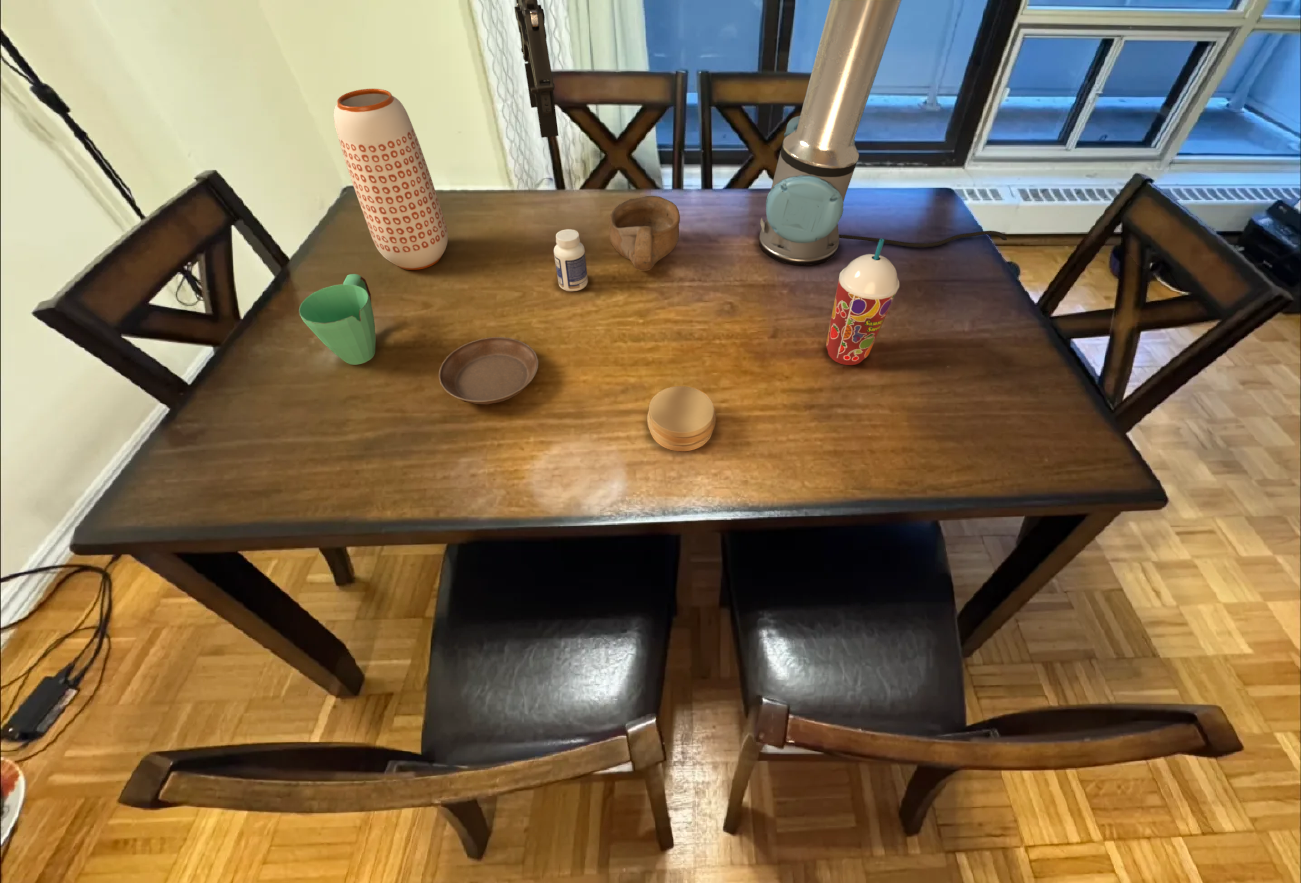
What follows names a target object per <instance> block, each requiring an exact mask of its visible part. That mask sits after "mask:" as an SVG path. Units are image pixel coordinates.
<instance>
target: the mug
mask: <svg viewBox="0 0 1301 883" xmlns="http://www.w3.org/2000/svg"><path fill="white" fill-rule="evenodd" d="M298 313H299V316H300V318H301V321H303V323H304V324H305V325H306V327H308V328H309V329H310V331H311V332H312V333H313V335H315V336H316V337H317V339H319V341H320V342H321V343H322V344H323V345H324V346H326V347H327V348H328V349H329V350H330V351H331V352H332V353H333V354H334V355H336V357H338V358H339V359H340V360H342V361H344V363H346V364H347V365H350V366H351V365H352V366H353V365H354V366H356V365H362V364H365V363H367V362H368V361H370V360H372V359H373V358H374V356H375V354H376V344H377V343H376V338H377V336H376V324H375V316H374V310H373V305H372V294H371V292H370V289H369V286H368V283H367V280H366V279H365V278H364V277H362V276H361V275H359V274H357V273H349V274H348V275H346V277H345V279H344V280H343V283H341V284H333V285H330V286H327V287H322V288H320V289H319V290H316V291H314V292H312V293H311V294H309V295H308V296H307V297H306V298H304V299H303V301H302V302H301V303H300V305H299V309H298Z"/></svg>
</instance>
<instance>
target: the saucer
mask: <svg viewBox="0 0 1301 883" xmlns="http://www.w3.org/2000/svg"><path fill="white" fill-rule="evenodd" d="M538 370H539V358H538V355H537V353H536V351H535V350H534V349H533V348H532V347H531V346H530V345H529V344H527V343H525V342H523V341H522V340H519V339H515V338H512V337H504V336H493V337H491V336H490V337H484V338H480V339H476V340H472V341H470V342H467V343H464V344H463V345H461V346H459V347H457V348H456V349H454V350H453V351H451V352H450V353H449V354H448V355H447V356H446V357H445V358H444V360H443V362H442V363H441V365H440V367H439V370H438V380H439V383H440V386H441V387H442V389H443V390H444V391H445V392H446V393H447V394H449V395H450V396H452V397H454V398H455V399H458V400H461V401H462V402H466V403H470V404H476V405H490V404H496V403H501V402H504V401H507V400H509V399H511V398H513V397H515V396H517V395H518V394H520V393H521V392H522V391H524V390H525V389H526V388H527V386H529V384H531V382H532V380H534V377H535V376H536V374H537V372H538Z"/></svg>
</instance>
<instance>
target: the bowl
mask: <svg viewBox="0 0 1301 883" xmlns="http://www.w3.org/2000/svg"><path fill="white" fill-rule="evenodd" d="M680 221H681V214H680V210H679V208H678V206H677V205H676V204H675V203H674V202H673V201H671V200H668V199H666V198H665V197H662V196H658V195H645V196H641V197H636V198H629V199H627V200H625V201H624V202H621V203H619V204H618V205H616V206H615V207H614V209H613V210H612V211H611V213H610V215H609V232H608V236H609V241H610V242H609V243H610V244H611V245H612V247H613V248H614V250H615V251H616V252H617V253H618V254H619V255H620V256H621V257H623V258H625V259H627V260H629V261H631V263H632V266H633V267H634V268H635V270H638V271H649V270H651V269H653V267H654V266H655V264H656V263H657V262H658V261H661V260H662V259H663V258H665V257H667V256H668V255H669V254H670V253H671V252H672V251H674V249H675V248H676V246H677V244H678V242H679V238H680V223H681V222H680Z"/></svg>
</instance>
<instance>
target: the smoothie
mask: <svg viewBox="0 0 1301 883" xmlns="http://www.w3.org/2000/svg"><path fill="white" fill-rule="evenodd" d="M879 239H880V240H879V242H877V246H876V250H875V253H866V254H863V255H860V256H858V257H856V258H854V259H853V260H851V261H850V262H849V263H848V264H847V266H846V267H844V268H843V269H842V270H841V271H840V273H839V274H838V276H839V278H838V280H837V285H836V286H837V287H836V290H835V291H836V292H835V297H834V302H833V307H832V311H831V312H832V313H831V317H830V321H829V327H828V332H827V337H826V342H825V343H826V344H825V347H826V350H827V354H828V356H829V357H830V359H831V360H833V361H834V362H836V363H838V364H841V365H846V366H854V365H858V364H860V363H861V362H863V361H864V360H865V359H866V358H867V357H868V356H869V355H870V353H871V351H872V349H873V346H874V344H875V341H876V339H877V337H878V335H879V332H880V330H881V328H882V326H883V324H884V321H885V319H886V317H887V314H888V313H889V310H890V308H891V306H892V304H893V301H894V300H895V297H896V294H897V292H898V290H899V289H900V281H899V279H898V273H897V270H896V267H895V266H894V264H893V263H892V261H890V260H889V259H888V258H887V257H885V256H883V255H881V252H882V250H883V246H884V244H885V243H884V239H885V238H879Z"/></svg>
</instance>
